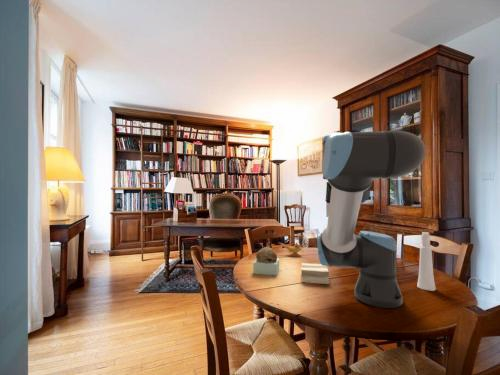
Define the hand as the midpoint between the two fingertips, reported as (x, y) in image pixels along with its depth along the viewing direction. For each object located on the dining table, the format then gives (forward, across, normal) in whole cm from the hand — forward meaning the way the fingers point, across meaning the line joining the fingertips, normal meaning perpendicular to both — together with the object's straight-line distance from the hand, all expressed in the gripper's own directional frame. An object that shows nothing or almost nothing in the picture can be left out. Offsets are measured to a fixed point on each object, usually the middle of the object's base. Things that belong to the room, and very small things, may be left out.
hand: (331, 218), depth 107 cm
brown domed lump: (+22, +6, +30) cm, 37 cm away
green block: (+26, +6, +29) cm, 40 cm away
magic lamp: (+26, +39, +17) cm, 50 cm away
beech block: (+26, -1, +8) cm, 27 cm away
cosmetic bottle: (+27, -4, -35) cm, 44 cm away
